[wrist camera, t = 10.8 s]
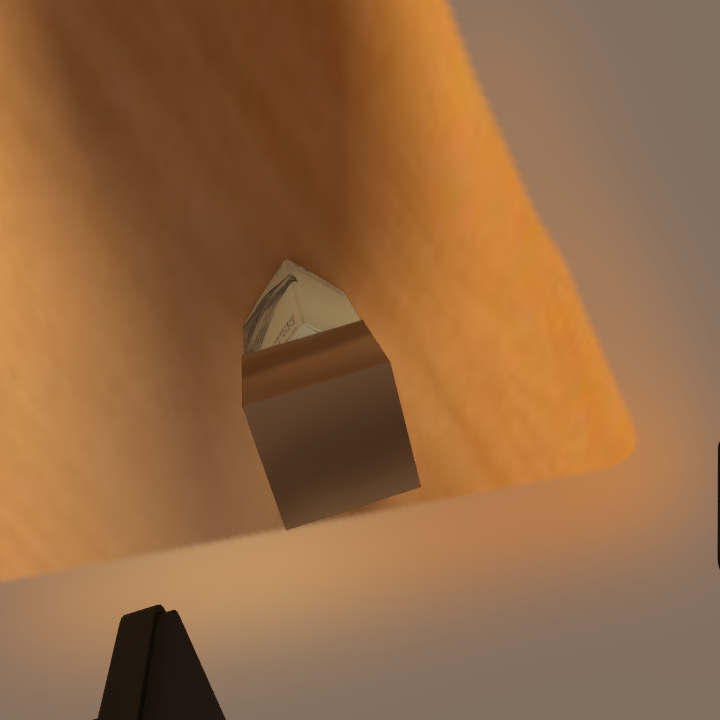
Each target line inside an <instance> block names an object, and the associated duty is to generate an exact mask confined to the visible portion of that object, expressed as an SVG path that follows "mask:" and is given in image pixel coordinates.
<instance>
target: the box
mask: <svg viewBox="0 0 720 720" xmlns="http://www.w3.org/2000/svg"><path fill="white" fill-rule="evenodd" d="M357 321H360V318H359V317H358V315H357V313H356V311H355V310H354V308H353V306H352V304H351V302H350V301H349V299H348V297H347V296H346V294H345V293H344V292H343V291H342V290H340V289H338V288H337V287H335V286H333V285H332V284H330V283H329V282H327V281H325V280H324V279H322V278H320V277H319V276H317V275H315V274H313V273H312V272H310V271H308V270H307V269H305V268H303V267H301V266H300V265H298V264H296V263H294V262H292V261H290V260H288V259H285V260H284V261H283V263H282V264H281V266H280V267H279V269H278V270H277V272H276V273H275V275H274V276H273V278H272V279H271V281H270V282H269V284H268V285H267V287H266V288H265V290H264V292H263V293H262V295H261V296H260V298H259V300H258V301H257V303H256V305H255V307H254V308H253V310H252V312H251V313H250V315H249V317H248V318H247V320H246V322H245V324H244V355H245V354H248V353H252V352H255V351H259V350H262V349H265V348H269V347H272V346H275V345H279V344H282V343H286V342H289V341H292V340H296V339H299V338H302V337H306V336H309V335H313V334H316V333H319V332H323V331H326V330H329V329H333V328H336V327H340V326H343V325H346V324H350V323H353V322H357ZM244 417H245V419H246V420H247V418H246V416H245V413H244Z"/></svg>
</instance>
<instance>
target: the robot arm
mask: <svg viewBox="0 0 720 720" xmlns="http://www.w3.org/2000/svg"><path fill="white" fill-rule="evenodd" d="M718 565H719V568H720V442H719V446H718ZM94 720H226V719H225V717H224V715H223V713H222V711H221V708H220V706H219V704H218V701H217V699H216V697H215V695H214V692H213V690H212V688H211V686H210V683H209V681H208V679H207V677H206V674H205V672H204V670H203V668H202V666H201V663H200V661H199V659H198V656H197V654H196V652H195V650H194V647H193V645H192V643H191V641H190V638H189V636H188V634H187V632H186V629H185V627H184V625H183V623H182V621H181V618H180V616H179V614H178V612H177V611H176V610H172V611H168V612H166V611H165V609H164V608H163V607H162V606H161V605H155V606H152V607H149V608H146V609H143V610H139V611H136V612H133V613H130V614H126V615H124V616H123V617H122V618H121V621H120V624H119V628H118V633H117V637H116V642H115V646H114V650H113V654H112V659H111V663H110V668H109V672H108V676H107V681H106V685H105V689H104V694H103V698H102V703H101V707H100V711H99V716H98V718H97V719H94Z"/></svg>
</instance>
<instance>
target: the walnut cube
mask: <svg viewBox="0 0 720 720" xmlns="http://www.w3.org/2000/svg"><path fill="white" fill-rule="evenodd" d="M242 407H243V410H244V413H245V416H246V418H247V421H248V424H249V427H250V430H251V432H252V435H253V438H254V441H255V444H256V447H257V449H258V452H259V455H260V458H261V461H262V463H263V466H264V469H265V472H266V475H267V477H268V480H269V483H270V486H271V489H272V492H273V494H274V497H275V500H276V503H277V506H278V508H279V511H280V514H281V517H282V520H283V522H284V525H285V528H286V530H288V529H292V528H295V527H298V526H301V525H304V524H307V523H310V522H313V521H316V520H320V519H323V518H326V517H329V516H332V515H335V514H338V513H341V512H345V511H348V510H351V509H354V508H357V507H360V506H363V505H366V504H369V503H373V502H376V501H379V500H382V499H385V498H388V497H391V496H394V495H397V494H401V493H404V492H407V491H410V490H413V489H416V488H419V487H421V485H420V481H419V477H418V473H417V469H416V465H415V461H414V457H413V453H412V449H411V445H410V441H409V437H408V433H407V428H406V424H405V420H404V416H403V412H402V408H401V404H400V400H399V396H398V392H397V388H396V384H395V380H394V376H393V372H392V368H391V364H390V361H389V359H388V358H387V356H386V355H385V353H384V352H383V350H382V349H381V347H380V346H379V344H378V343H377V341H376V340H375V338H374V337H373V335H372V334H371V332H370V331H369V329H368V328H367V326H366V325H365V323H364V322H363V320H360V321H357V322H353V323H350V324H346V325H343V326H340V327H336V328H333V329H329V330H326V331H323V332H319V333H316V334H313V335H309V336H306V337H302V338H299V339H296V340H292V341H289V342H286V343H282V344H279V345H275V346H272V347H269V348H265V349H262V350H259V351H255V352H252V353H248V354H245V355H242Z"/></svg>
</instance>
